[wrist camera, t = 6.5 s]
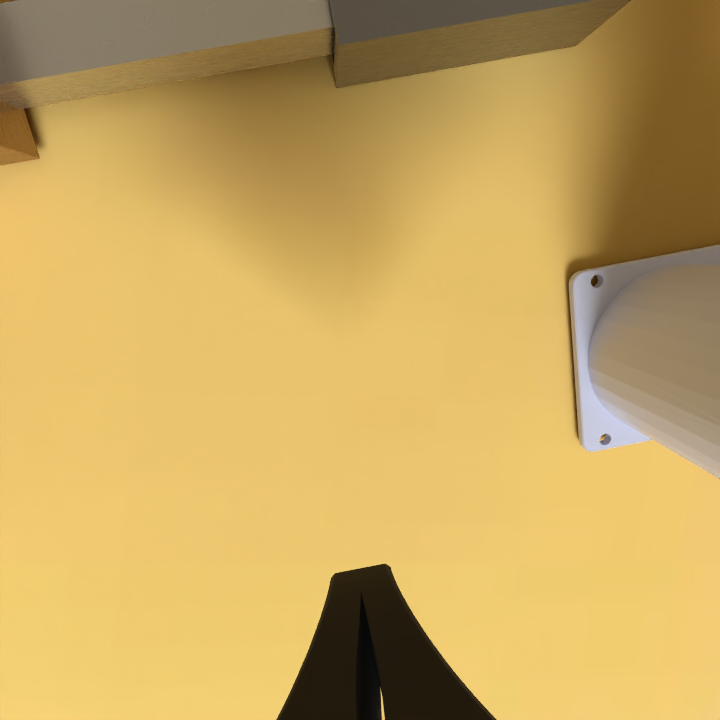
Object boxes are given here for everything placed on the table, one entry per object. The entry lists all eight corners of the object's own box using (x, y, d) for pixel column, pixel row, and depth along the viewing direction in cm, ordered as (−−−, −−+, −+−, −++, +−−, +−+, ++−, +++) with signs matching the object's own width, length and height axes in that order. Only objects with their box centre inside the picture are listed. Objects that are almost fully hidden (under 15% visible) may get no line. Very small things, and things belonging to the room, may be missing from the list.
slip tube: (422, -79, 15) (474, -257, 10) (442, 86, 16) (497, 7, 11) (-154, 19, 15) (-427, -113, 9) (-89, 181, 16) (-298, 147, 11)
